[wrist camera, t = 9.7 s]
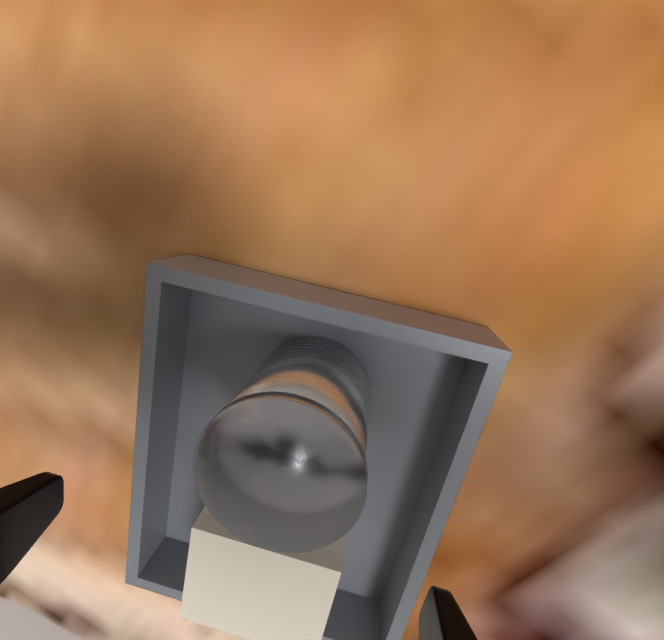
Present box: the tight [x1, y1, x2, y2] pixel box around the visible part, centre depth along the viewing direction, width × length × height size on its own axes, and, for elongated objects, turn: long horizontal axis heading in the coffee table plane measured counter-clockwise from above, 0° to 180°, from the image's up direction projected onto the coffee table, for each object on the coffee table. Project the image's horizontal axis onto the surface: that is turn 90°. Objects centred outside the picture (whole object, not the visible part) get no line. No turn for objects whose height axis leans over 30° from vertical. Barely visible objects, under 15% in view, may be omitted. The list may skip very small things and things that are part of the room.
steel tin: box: [192, 336, 370, 553], centre depth 14 cm, size 5×5×6 cm
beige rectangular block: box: [180, 507, 346, 640], centre depth 17 cm, size 6×5×4 cm
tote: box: [125, 254, 512, 640], centre depth 17 cm, size 13×16×3 cm
